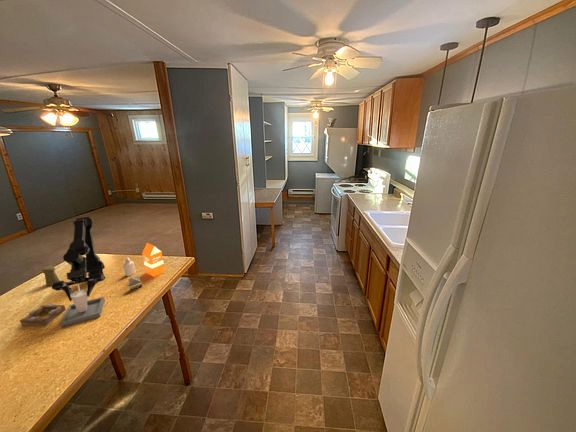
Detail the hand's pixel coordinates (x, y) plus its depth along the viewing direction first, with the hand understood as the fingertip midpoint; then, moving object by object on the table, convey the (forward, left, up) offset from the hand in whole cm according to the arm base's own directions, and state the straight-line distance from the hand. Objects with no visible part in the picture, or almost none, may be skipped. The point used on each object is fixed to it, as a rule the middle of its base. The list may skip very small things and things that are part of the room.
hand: (79, 298), depth 113 cm
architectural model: (-25, -4, -10) cm, 27 cm away
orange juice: (-39, -13, -9) cm, 43 cm away
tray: (0, -1, -9) cm, 9 cm away
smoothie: (0, -1, -7) cm, 7 cm away
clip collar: (+13, -12, -9) cm, 20 cm away
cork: (+5, -47, -9) cm, 48 cm away
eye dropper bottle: (-28, -23, -9) cm, 38 cm away
